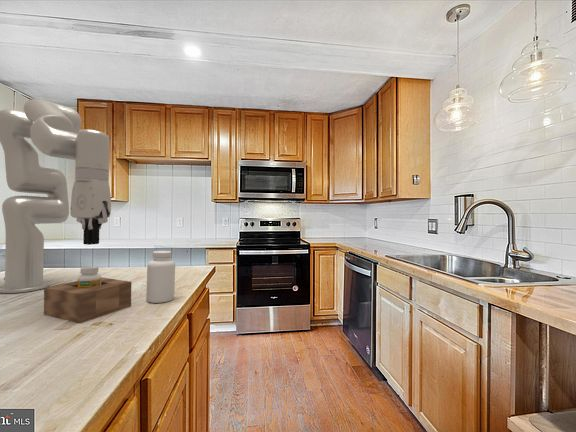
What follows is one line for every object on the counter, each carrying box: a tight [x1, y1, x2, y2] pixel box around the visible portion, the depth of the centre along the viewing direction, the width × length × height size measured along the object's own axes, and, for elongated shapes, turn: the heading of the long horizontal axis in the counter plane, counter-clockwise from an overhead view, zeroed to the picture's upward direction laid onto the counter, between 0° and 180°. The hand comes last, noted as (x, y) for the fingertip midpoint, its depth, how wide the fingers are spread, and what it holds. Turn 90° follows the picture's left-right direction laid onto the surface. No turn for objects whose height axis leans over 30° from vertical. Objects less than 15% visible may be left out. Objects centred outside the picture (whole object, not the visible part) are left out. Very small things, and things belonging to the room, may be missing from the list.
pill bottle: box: [145, 250, 176, 304], centre depth 87 cm, size 8×8×15 cm
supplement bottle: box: [76, 265, 102, 289], centre depth 76 cm, size 5×5×10 cm
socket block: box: [43, 276, 132, 324], centre depth 76 cm, size 14×14×7 cm
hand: (91, 243), depth 76 cm, fingers closed
